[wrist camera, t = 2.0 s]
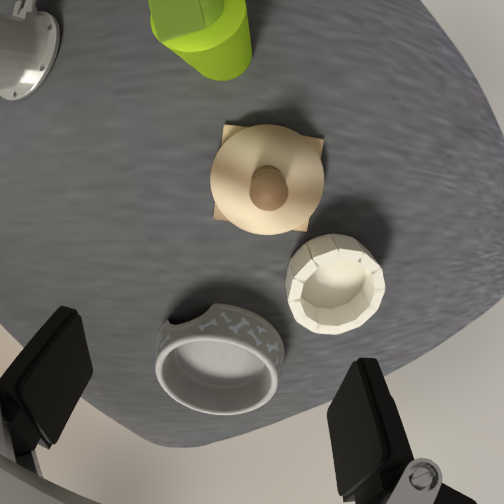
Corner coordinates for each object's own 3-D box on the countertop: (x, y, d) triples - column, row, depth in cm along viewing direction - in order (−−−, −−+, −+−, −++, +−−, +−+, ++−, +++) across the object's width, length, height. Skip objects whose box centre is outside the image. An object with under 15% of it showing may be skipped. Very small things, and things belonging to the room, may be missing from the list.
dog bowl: (301, 375, 42) (304, 402, 37) (195, 401, 46) (190, 426, 41) (255, 285, 36) (254, 311, 31) (135, 327, 39) (122, 352, 34)
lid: (218, 118, 28) (208, 116, 22) (330, 134, 28) (347, 138, 22) (207, 223, 32) (196, 246, 26) (310, 237, 32) (320, 262, 27)
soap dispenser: (202, 96, 27) (108, 59, 9) (188, 38, 24) (95, -52, 6) (260, 83, 26) (258, 12, 8) (245, 24, 24) (222, -96, 5)
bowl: (295, 227, 32) (300, 242, 28) (381, 240, 33) (396, 257, 29) (279, 307, 37) (281, 329, 33) (357, 314, 37) (366, 336, 33)
